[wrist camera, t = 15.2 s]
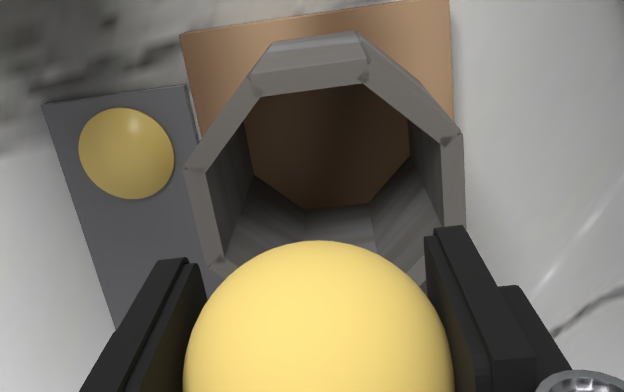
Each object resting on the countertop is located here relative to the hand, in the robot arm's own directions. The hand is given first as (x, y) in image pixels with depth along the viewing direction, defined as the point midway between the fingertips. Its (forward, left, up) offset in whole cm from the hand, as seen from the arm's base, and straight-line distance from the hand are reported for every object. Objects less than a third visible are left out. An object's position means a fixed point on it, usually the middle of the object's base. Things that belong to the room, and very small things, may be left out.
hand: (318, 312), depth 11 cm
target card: (+8, +4, -13) cm, 16 cm away
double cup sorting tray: (0, +4, -13) cm, 14 cm away
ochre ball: (0, 0, -1) cm, 1 cm away
